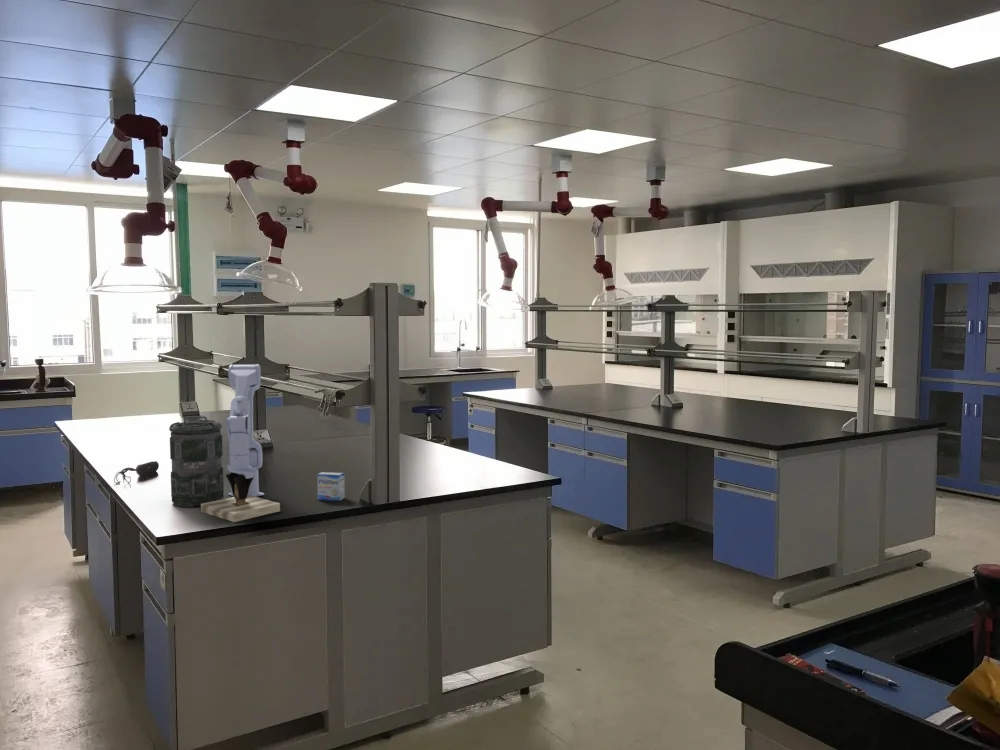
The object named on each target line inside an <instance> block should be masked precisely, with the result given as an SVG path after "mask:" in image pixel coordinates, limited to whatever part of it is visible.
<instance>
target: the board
mask: <svg viewBox="0 0 1000 750" xmlns="http://www.w3.org/2000/svg"><path fill="white" fill-rule="evenodd" d="M200 512H201V513H204V514H206V515H209V516H213V517H217V518H219V519H222V520H227V521H230V522H232V523H235V522H240V521H245V520H248V519H249V520H250V519H252V518H257V517H261V516H264V515H269V514H275V513H278V512H281V503H280V502H276V501H272V500H269V499H266V498H262V497H260V496H256V497H255V496H251V495H247V498H246V505H241V506H236V499H235V497H234V496H232V497H227V498H223V499H221V500H217V501H212V502H207V503H203V504H201V506H200Z"/></svg>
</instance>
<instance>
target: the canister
mask: <svg viewBox="0 0 1000 750" xmlns="http://www.w3.org/2000/svg"><path fill="white" fill-rule="evenodd" d="M186 419H198V421H197V420H196V421H195V420H194V421H193V420H192V421H186ZM222 427H223V425H222V423H221V422H219V421H218V422H217V421H215V420H213V419H212V420H208V417H206V416H205V415H204V416H203V415H202V416H201V415H200V416H199V415H198V416H197V415H196V416H194V415H192V416H191V415H187V416H184V418H183V421H182V422H179V421H176V422H174V423H172V424H170V425H169V428H168V429H169V432H170V437H169V457H170V458H169V459H170V460H171V471H170V491H171V492H170V493H171V495H170V496H171V502H172V504H174V505H177V506H178V507H181V508H195V507H201V504H203V503H207V502H212V501H217V500H221V499H225V495H224V492H225V491H224V488H225V487H224V467H222V465H223V463H222V461H223V460H222V457H223V435H222V432H221V429H223V428H222Z"/></svg>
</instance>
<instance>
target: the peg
mask: <svg viewBox="0 0 1000 750" xmlns="http://www.w3.org/2000/svg"><path fill="white" fill-rule="evenodd" d="M235 499H236V506H241V505H246V499H239V495H238V488H237V485H236V483H235Z"/></svg>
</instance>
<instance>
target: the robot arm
mask: <svg viewBox="0 0 1000 750" xmlns="http://www.w3.org/2000/svg"><path fill="white" fill-rule="evenodd" d="M227 370H228V371H227V373H228V381H229V384H230V387H231V389H232V390H234V392H235V395H234V396H235V397H234V398H232V399H231V401H230V407H229V408H230V410H229V417H227V418H226V432H227V440H228V449H229V451H228V452H229V453H228V454H229V455H228V456H229V464H226V472H230V473H228V474H227V473H226V474H225V477H226V478H227V481H228V482H229V485H230V492H229V493H228V494H227V495H228V496H232V497H235V483H236V485H237V488H238V495H239V499H246V498H247V495H251V496H255V497H260V496H261V497H262V496H265V493H264V492H260V490H259V489H260V486H259V485H260V484H259V468H260V469H261V468H262V467H263V448H262V444H261V443H259V442H258V441H257V440H255V439H254V395H255V392H256V391H257V390H259V389H260V388H261V380H262V378H261V377H262V376H261V375H262V373H261V372H262V371H261V370H262V369H261V365H260V364H259V363H256V364H232V363H231V364H230V365H228V369H227Z"/></svg>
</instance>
